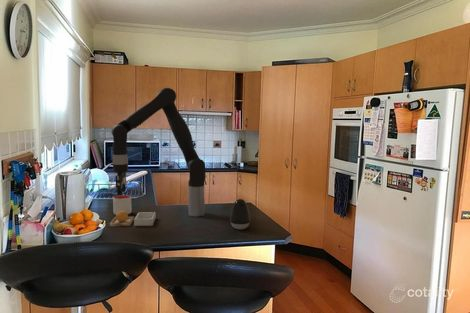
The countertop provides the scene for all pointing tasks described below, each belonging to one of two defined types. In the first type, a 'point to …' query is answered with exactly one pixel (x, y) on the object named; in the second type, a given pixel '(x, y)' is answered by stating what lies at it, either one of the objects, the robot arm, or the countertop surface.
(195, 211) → the robot arm
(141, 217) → the bin
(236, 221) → the black tapered speaker
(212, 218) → the countertop surface
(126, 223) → the tray
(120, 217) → the ball
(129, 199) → the cup
